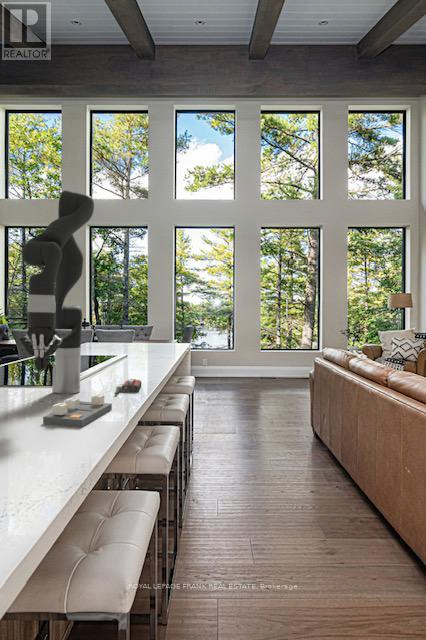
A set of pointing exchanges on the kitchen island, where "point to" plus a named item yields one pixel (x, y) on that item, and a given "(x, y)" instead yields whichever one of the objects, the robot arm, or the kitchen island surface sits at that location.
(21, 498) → the kitchen island surface
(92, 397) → the tab back
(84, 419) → the switch panel
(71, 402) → the tab middle
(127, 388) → the walkie-talkie
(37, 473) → the kitchen island surface
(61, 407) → the tab front
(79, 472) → the kitchen island surface
